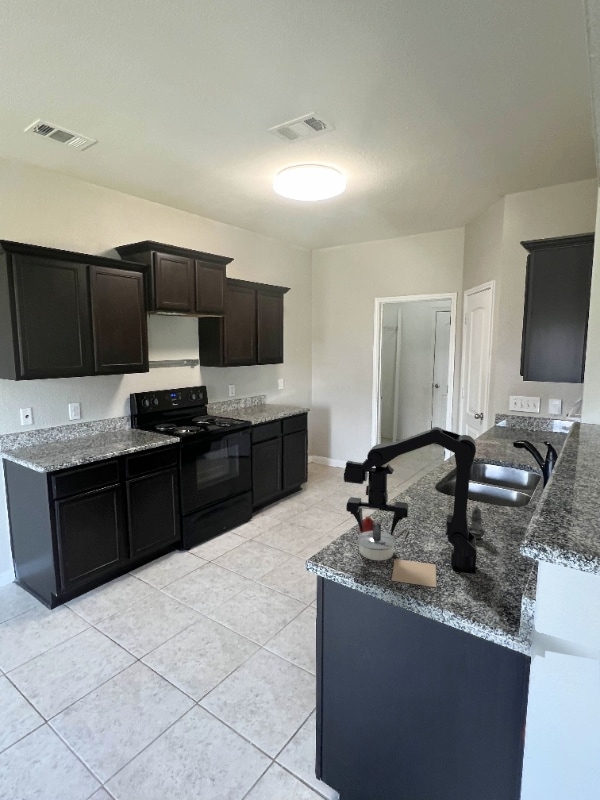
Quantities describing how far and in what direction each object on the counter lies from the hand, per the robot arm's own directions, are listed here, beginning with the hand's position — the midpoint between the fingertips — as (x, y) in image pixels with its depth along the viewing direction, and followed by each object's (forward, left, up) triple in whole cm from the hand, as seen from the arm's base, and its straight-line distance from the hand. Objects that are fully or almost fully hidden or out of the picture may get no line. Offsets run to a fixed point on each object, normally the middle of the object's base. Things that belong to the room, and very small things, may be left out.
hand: (376, 532), depth 135 cm
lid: (0, 0, -3) cm, 3 cm away
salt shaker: (-31, -18, -7) cm, 37 cm away
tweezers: (-8, -18, -8) cm, 21 cm away
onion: (+4, -9, -7) cm, 12 cm away
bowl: (0, 0, -7) cm, 7 cm away
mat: (-12, +9, -7) cm, 16 cm away
